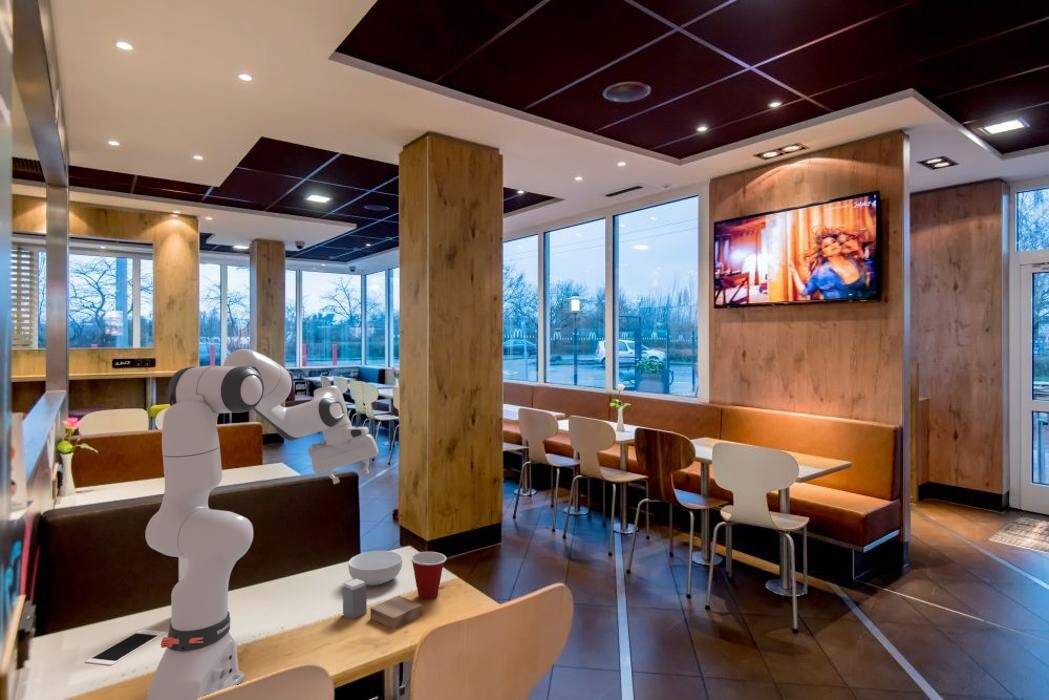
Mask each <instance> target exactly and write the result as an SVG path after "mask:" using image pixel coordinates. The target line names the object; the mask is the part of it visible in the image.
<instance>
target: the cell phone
mask: <svg viewBox="0 0 1049 700" xmlns="http://www.w3.org/2000/svg"><path fill="white" fill-rule="evenodd" d="M164 634H166V631H159V630H152V629H151V630H150V629H139V630H138V631H136V632H134V633H132V634H130V635H129V636H127V637H125V638H123V639H121V640H119V641H118V642H116V643H115V644H113V645H111V646H109V647H107V648H106V649H104V650H102V651H100V652H99V653H96V654H95V655H93V656H91V657H90V658H88V659H86V660H85V663H86V664H92V665H93V664H95V665H103V666H113V665H115V664H117V663H119V662H120V661H122V660H123V659H125V658H126V657H128V656H130V655H131V654H133V653H135V652H136V651H138V650H140V649H141V648H143V647H145V646H146V645H148V644H150V643H151V642H153V641H154V640H156V639H158V638H159V637H161V636H163V635H164Z"/></svg>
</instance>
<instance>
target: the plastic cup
mask: <svg viewBox="0 0 1049 700" xmlns="http://www.w3.org/2000/svg"><path fill="white" fill-rule="evenodd" d="M410 561H411V564H412V566H413V567H412V568H413V573H414V580H415V585H416V590H417V595H418V598H419V599H420V600H423V601H424V600H425V601H427V600H429V601H430V600H433V599H435V598H437V597H438V596H439V595H438V594H439V589H440V585H441V578H442V575H443V574H442V571H443V568H444V565H445V562H446V561H447V556H446V555H444V554H443V553H440V552H436V551H420V552H417V553H413V554H412V555H411V556H410Z"/></svg>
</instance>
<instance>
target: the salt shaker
mask: <svg viewBox="0 0 1049 700" xmlns="http://www.w3.org/2000/svg"><path fill="white" fill-rule="evenodd" d="M367 596H368V595H367V585H365V582H364V581H361V580H359V579H351V580H349V581H346V582H344V583H343V586H342V615H343V614H344V615H345V616H344V615H343V616H344V617H346V616H347V617H346V618H348V617H349V619H350V618H351V619H350V620H352V619H353V620H355V618H356V619H357V617H358V618H360V617H362V616H365V615H366V614H367V612H368V611H367V605H368V603H367V599H368V598H367ZM364 614H365V615H364Z"/></svg>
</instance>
